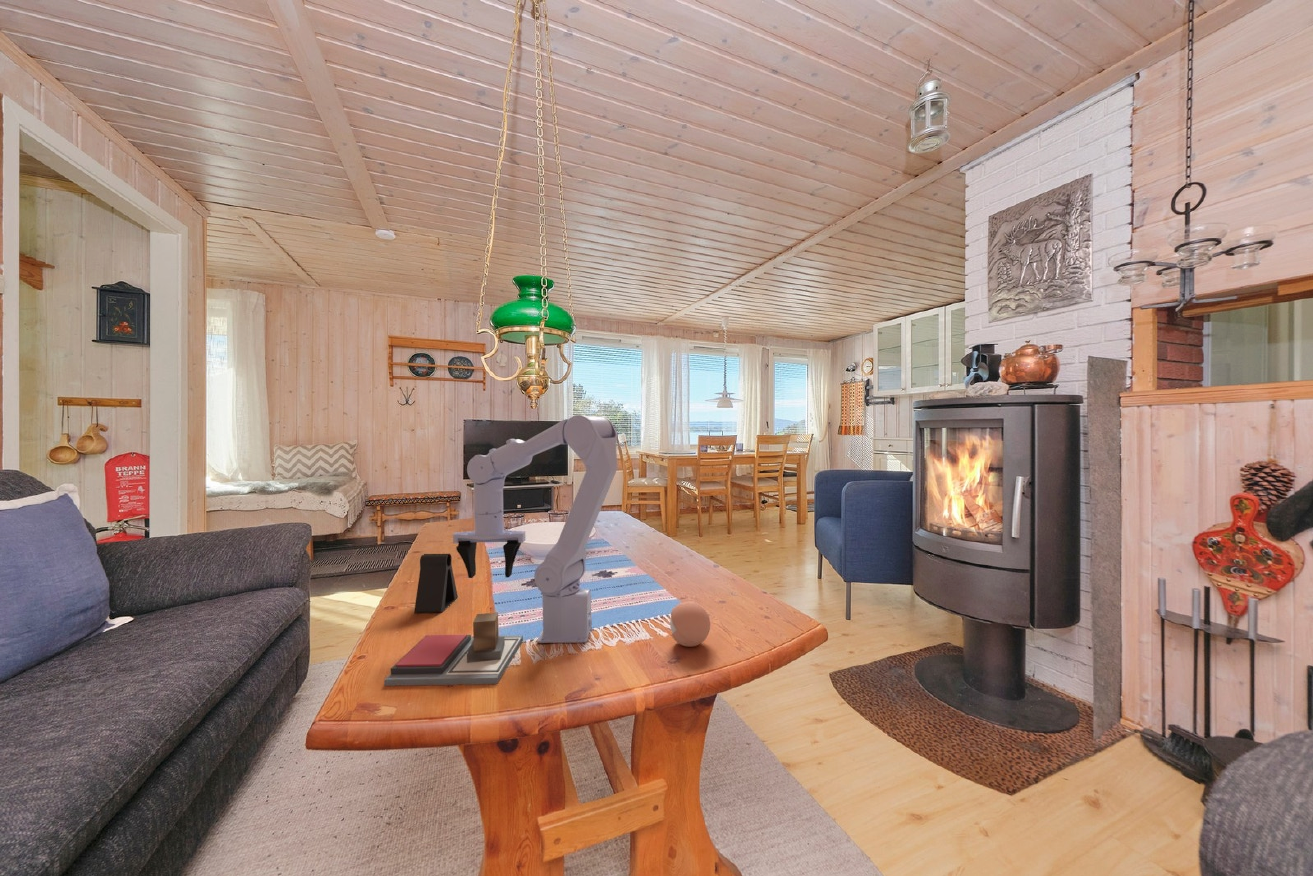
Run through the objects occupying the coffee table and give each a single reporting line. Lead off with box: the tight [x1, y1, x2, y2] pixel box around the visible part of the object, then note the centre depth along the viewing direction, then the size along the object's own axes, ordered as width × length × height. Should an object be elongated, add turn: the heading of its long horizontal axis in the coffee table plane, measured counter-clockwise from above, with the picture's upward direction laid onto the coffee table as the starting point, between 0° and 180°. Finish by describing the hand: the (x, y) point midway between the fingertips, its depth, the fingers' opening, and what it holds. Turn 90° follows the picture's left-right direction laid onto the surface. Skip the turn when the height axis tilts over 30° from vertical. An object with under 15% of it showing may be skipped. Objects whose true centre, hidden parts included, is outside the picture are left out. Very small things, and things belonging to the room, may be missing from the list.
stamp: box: [467, 612, 505, 663], centre depth 82 cm, size 6×6×6 cm
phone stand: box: [413, 553, 459, 614], centre depth 108 cm, size 9×6×12 cm, turn 0°
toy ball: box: [669, 600, 711, 648], centre depth 87 cm, size 8×8×8 cm
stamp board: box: [383, 634, 524, 687], centre depth 82 cm, size 18×15×2 cm
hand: (490, 576), depth 98 cm, fingers open, 7 cm apart
